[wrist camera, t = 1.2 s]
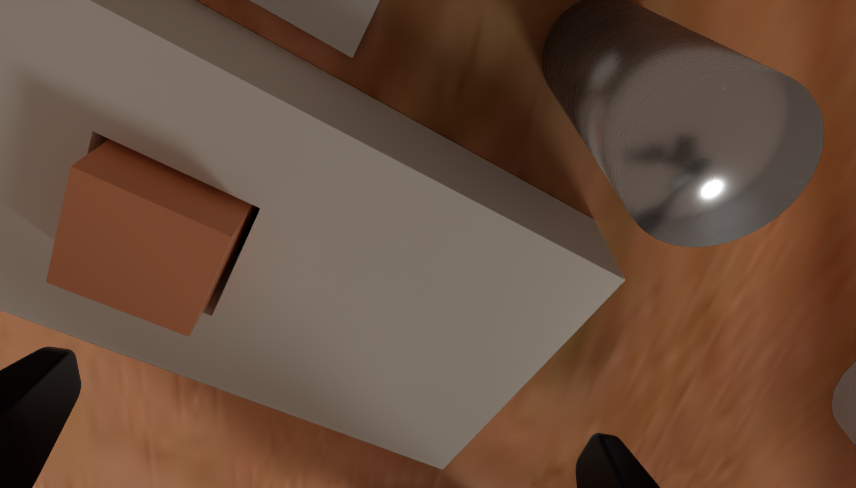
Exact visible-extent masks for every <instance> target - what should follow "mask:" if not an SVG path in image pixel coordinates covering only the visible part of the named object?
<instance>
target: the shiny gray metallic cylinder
mask: <svg viewBox="0 0 856 488" xmlns="http://www.w3.org/2000/svg"><path fill="white" fill-rule="evenodd" d="M542 68H543V73H544V77H545V79H546V82H547V84H548V86H549V87H550V89H551V91H552V92H553V94H554V95H555V97H556V99H557V100H558V102H559V103H560V105H561V106H562V108H563V110H564V111H565V113H566V114H567V116H568V117H569V119H570V121H571V122H572V124H573V125H574V127H575V128H576V130H577V132H578V133H579V135H580V136H581V138H582V139H583V141H584V143H585V144H586V146H587V147H588V149H589V150H590V152H591V154H592V155H593V157H594V158H595V160H596V161H597V163H598V164H599V166H600V168H601V169H602V171H603V172H604V174H605V175H606V177H607V179H608V180H609V182H610V183H611V185H612V186H613V188H614V190H615V191H616V193H617V194H618V196H619V197H620V199H621V201H622V202H623V204H624V205H625V207H626V208H627V210H628V212H629V213H630V215H631V216H632V218H633V219H634V220H635V222H636V223H637V224H638V225H639V226H640V227H641V228H642V229H643V230H644V231H645V232H647V233H648V234H650V235H651V236H653V237H655V238H657V239H659V240H661V241H663V242H666V243H670V244H673V245H679V246H686V247H704V246H712V245H718V244H722V243H726V242H730V241H733V240H736V239H738V238H741V237H744V236H746V235H748V234H750V233H752V232H754V231H756V230H758V229H759V228H761V227H763V226H765V225H766V224H768V223H769V222H770V221H772V220H773V219H775V218H776V217H777V216H779V215H780V214H781V213H782V212H783V211H784V210H786V209H787V208H788V207H789V206H790V205H791V204H792V203H793V202H794V201H795V200H796V198H797V197H798V196H799V195H800V193H801V192H802V191H803V190H804V188H805V187H806V185H807V184H808V182H809V181H810V179H811V177H812V175H813V173H814V171H815V169H816V167H817V165H818V162H819V159H820V156H821V153H822V148H823V143H824V124H823V118H822V115H821V111H820V108H819V106H818V104H817V102H816V100H815V99H814V97H813V96H812V95H811V93H810V92H809V91H808V90H807V89H806V88H805V87H804V86H803V85H801V84H800V83H799V82H797V81H796V80H794V79H792V78H791V77H789V76H787V75H785V74H782V73H780V72H778V71H776V70H774V69H772V68H770V67H768V66H766V65H764V64H761V63H759V62H757V61H755V60H753V59H751V58H749V57H747V56H745V55H743V54H740V53H738V52H736V51H734V50H732V49H730V48H728V47H726V46H724V45H722V44H719V43H717V42H715V41H713V40H711V39H709V38H707V37H705V36H703V35H701V34H698V33H696V32H694V31H692V30H690V29H688V28H686V27H684V26H682V25H680V24H677V23H675V22H673V21H671V20H669V19H667V18H665V17H663V16H661V15H658V14H656V13H654V12H652V11H650V10H648V9H646V8H644V7H642V6H640V5H637V4H635V3H633V2H631V1H629V0H582V1H580V2H578V3H576V4H575V5H573V6H572V7H570V8H569V9H568V10H567V11H565V12H564V13H563V14H562V15H561V16H560V17H559V18H558V19H557V21H556V22H555V24H554V25H553V26H552V28H551V30H550V32H549V33H548V36H547V38H546V41H545V44H544V47H543V53H542Z"/></svg>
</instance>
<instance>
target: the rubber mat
mask: <svg viewBox="0 0 856 488" xmlns="http://www.w3.org/2000/svg"><path fill="white" fill-rule="evenodd" d="M250 1H252V2H254V3H255V4H257V5H259V6H261V7H262V8H264V9H266V10H268V11H270V12H271V13H273V14H275V15H277V16H278V17H280V18H282V19H284V20H285V21H287V22H289V23H291V24H293V25H294V26H296V27H298V28H300V29H301V30H303V31H305V32H307V33H308V34H310V35H312V36H314V37H316V38H317V39H319V40H321V41H323V42H324V43H326V44H328V45H330V46H332V47H333V48H335V49H337V50H339V51H340V52H342V53H344V54H346V55H347V56H349V57H351V58H353V56H354V54H355V52H356V50H357V48H358V46H359V44H360V42H361V40H362V38H363V35H364V33H365V31H366V29H367V27H368V25H369V23H370V21H371V19H372V16H373V14H374V12H375V10H376V8H377V6H378V4H379V2H380V0H250Z"/></svg>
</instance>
